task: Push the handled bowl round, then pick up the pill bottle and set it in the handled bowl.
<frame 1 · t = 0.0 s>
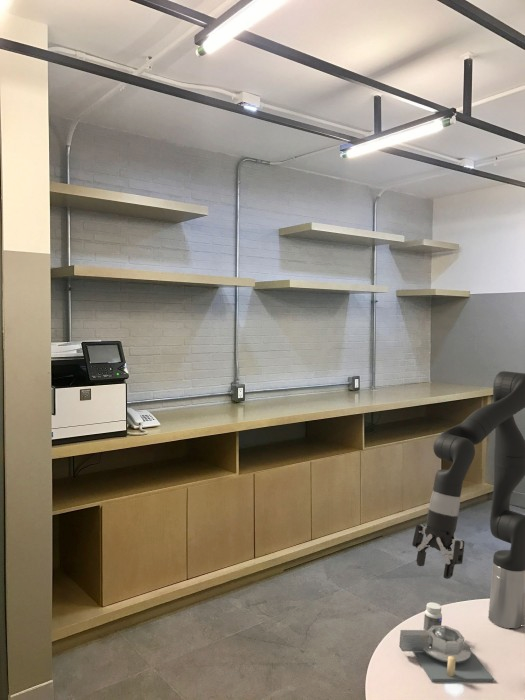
hand: (433, 571, 151), 22 cm above the table, tool pointing down, fingers open, 8 cm apart
pill bottle: (431, 635, 163), on the table
slate board: (444, 655, 152), on the table
handled bowl: (435, 640, 152), point 4 cm above the table, hinge at 0.0°
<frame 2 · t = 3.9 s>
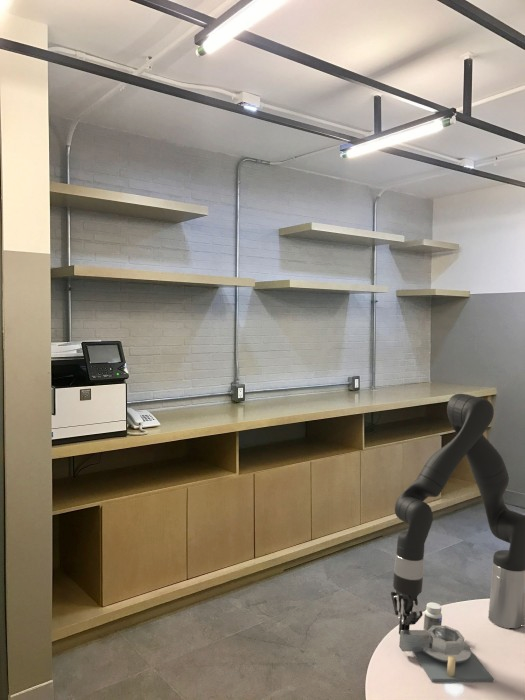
hand: (403, 635, 154), 4 cm above the table, tool pointing down, fingers closed
handled bowl: (435, 640, 152), point 4 cm above the table, hinge at 0.0°, touching gripper
everything else where it was.
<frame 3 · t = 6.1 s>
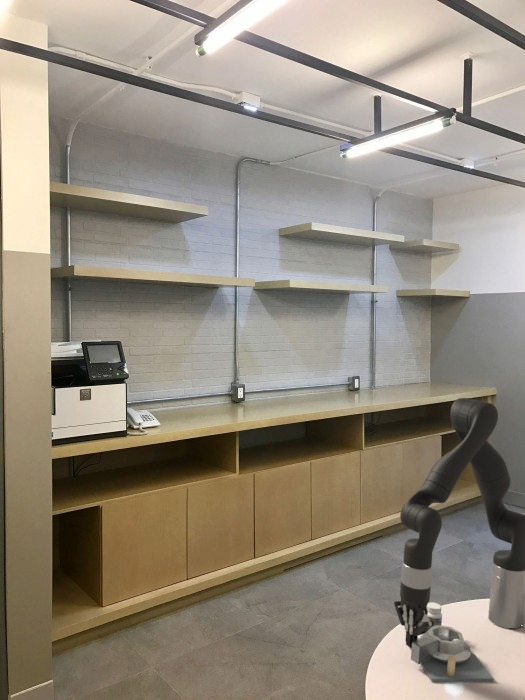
hand: (410, 645, 150), 4 cm above the table, tool pointing down, fingers closed
handled bowl: (438, 643, 151), point 4 cm above the table, hinge at 29.0°, touching gripper
everything else where it was.
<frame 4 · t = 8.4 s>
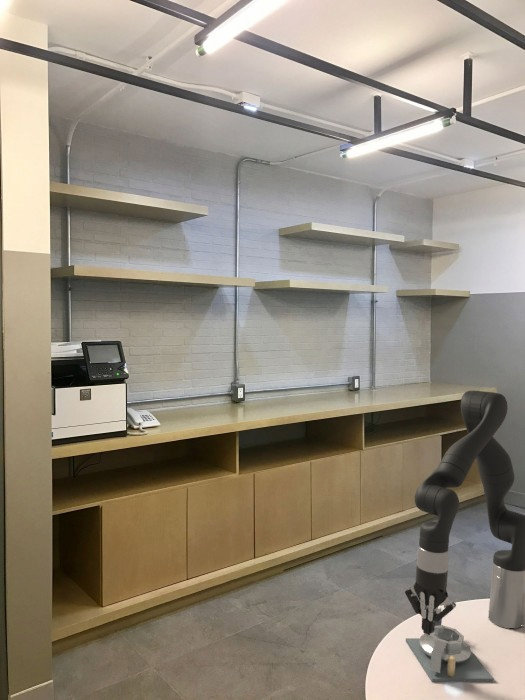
hand: (427, 632, 145), 10 cm above the table, tool pointing down, fingers closed
handled bowl: (443, 645, 150), point 4 cm above the table, hinge at 55.3°
everything else where it was.
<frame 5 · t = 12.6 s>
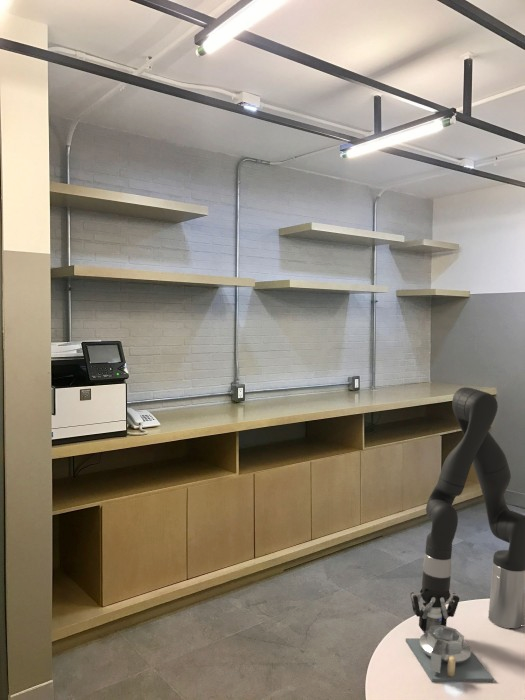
hand: (432, 629, 163), 1 cm above the table, tool pointing down, fingers closed on pill bottle, 4 cm apart
pill bottle: (431, 635, 163), on the table, touching gripper
everything else where it was.
when the fingers open (6 cm above the table, at t = 17.0 s): pill bottle drops 2 cm, resting on handled bowl.
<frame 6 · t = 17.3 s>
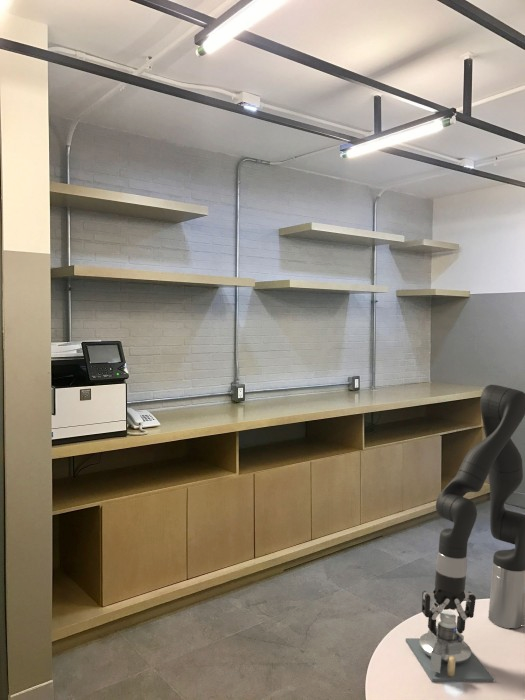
hand: (446, 631, 152), 7 cm above the table, tool pointing down, fingers open, 7 cm apart
pill bottle: (445, 645, 152), point 3 cm above the table, touching handled bowl
handled bowl: (443, 645, 150), point 4 cm above the table, hinge at 55.3°, touching pill bottle
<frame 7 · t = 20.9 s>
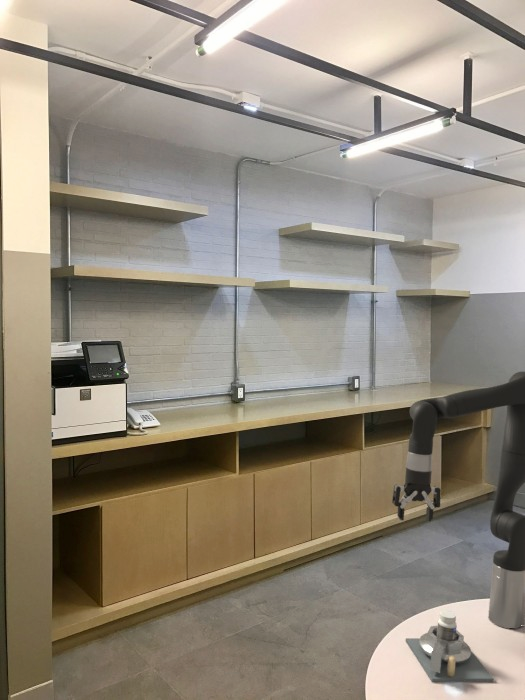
hand: (414, 520, 175), 28 cm above the table, tool pointing down, fingers open, 8 cm apart
nothing on the table moved.
at the end: handled bowl at +55° (first picture: +0°); pill bottle 0.1 cm off-centre on the handled bowl, point 2.7 cm above the handled bowl's base; pill bottle tilted 0° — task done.
